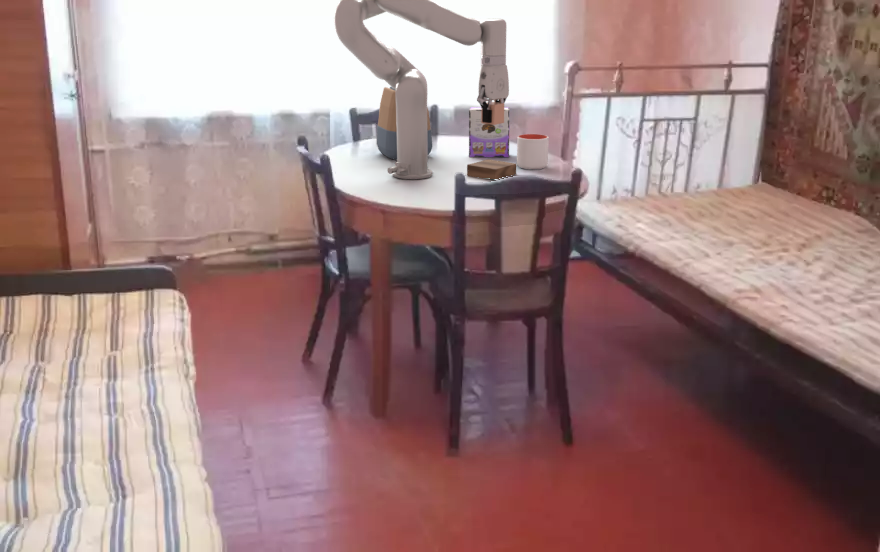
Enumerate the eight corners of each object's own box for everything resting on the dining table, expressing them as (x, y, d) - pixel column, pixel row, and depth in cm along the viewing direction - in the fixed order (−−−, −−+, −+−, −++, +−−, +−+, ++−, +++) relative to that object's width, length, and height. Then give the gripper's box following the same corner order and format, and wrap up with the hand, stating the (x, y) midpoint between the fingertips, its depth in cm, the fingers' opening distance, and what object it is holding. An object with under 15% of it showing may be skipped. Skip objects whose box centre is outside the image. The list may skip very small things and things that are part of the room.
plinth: (495, 180, 290) (495, 169, 288) (467, 175, 296) (467, 164, 295) (516, 174, 298) (516, 163, 296) (488, 169, 304) (488, 159, 303)
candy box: (509, 154, 328) (510, 106, 323) (508, 157, 322) (509, 109, 317) (469, 153, 329) (469, 106, 324) (468, 157, 324) (468, 108, 319)
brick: (494, 124, 288) (494, 105, 286) (481, 123, 291) (481, 103, 289) (504, 122, 292) (504, 103, 290) (491, 121, 295) (491, 101, 293)
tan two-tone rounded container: (435, 158, 322) (435, 89, 315) (389, 162, 316) (387, 92, 309) (418, 149, 337) (417, 83, 330) (373, 153, 331) (372, 86, 324)
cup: (528, 162, 315) (528, 132, 312) (553, 166, 309) (554, 136, 306) (510, 167, 308) (511, 137, 304) (536, 171, 302) (537, 140, 298)
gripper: (486, 64, 277) (485, 126, 283) (519, 59, 290) (518, 119, 295) (466, 62, 282) (465, 123, 288) (499, 58, 294) (499, 116, 300)
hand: (492, 120), depth 291 cm, fingers closed on brick, 5 cm apart
